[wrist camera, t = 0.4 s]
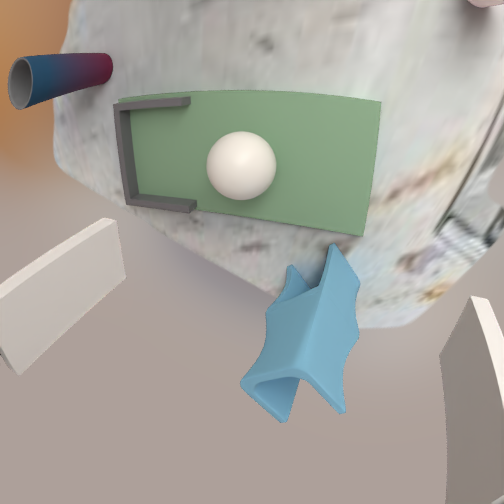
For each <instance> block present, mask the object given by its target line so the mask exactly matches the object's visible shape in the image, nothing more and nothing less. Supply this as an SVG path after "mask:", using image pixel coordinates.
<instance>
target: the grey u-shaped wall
mask: <svg viewBox="0 0 504 504" xmlns="http://www.w3.org/2000/svg"><path fill="white" fill-rule="evenodd" d="M188 104H191V96H184V97H169V98H157V99H146V100H137V101H128V102H122V103H117V104H113V108H114V119H115V129H116V138H117V146H118V154H119V161H120V169H121V175H122V182H123V188H124V194H125V200H126V205H133V206H141V207H148V208H156V209H163V210H170V211H177V212H184V213H190V212H191V211H193V210H194V209H195V208H196V207H197V200H193V199H185V198H177V197H168V196H159V195H150V194H140V193H139V189H138V182H137V174H136V167H135V159H134V150H133V141H132V132H131V121H130V110H131V109H142V108H155V107H170V106H183V105H188Z"/></svg>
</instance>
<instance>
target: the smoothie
mask: <svg viewBox="0 0 504 504" xmlns="http://www.w3.org/2000/svg"><path fill="white" fill-rule="evenodd" d="M468 1H469V2H470V3H471V4H472V5H474V6H476V7H480V8H484V7H489V6H495V5H501V4H504V0H468Z"/></svg>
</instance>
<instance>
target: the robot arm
mask: <svg viewBox="0 0 504 504" xmlns="http://www.w3.org/2000/svg"><path fill="white" fill-rule="evenodd" d="M124 279H126V274H125V268H124V263H123V257H122V251H121V245H120V238H119V232H118V225H117V220H114V219H109V218H102V219H100V220H98V221H97V222H95V223H93V224H92V225H90V226H89V227H87V228H85V229H83V230H82V231H80V232H78V233H77V234H75V235H73V236H72V237H70V238H69V239H67V240H65V241H64V242H62V243H61V244H59V245H57V246H56V247H55V248H53V249H51V250H50V251H48V252H47V253H45V254H43V255H42V256H41V257H39V258H37V259H36V260H35V261H33V262H31V263H30V264H29V265H27V266H26V267H24V268H23V269H21V270H20V271H18V272H17V273H15V274H14V275H13V276H11V277H10V278H8V279H7V280H6V281H4V282H3V283H2V284H0V355H1V356H2V358H3V360H4V361H5V363H6V364H7V366H8V367H9V368H10V369H11V370H12V371H13V372H14V373H15V374H16V375H17V376H20V375H21V374H22V373H23V372H24V371H25V370H26V369H27V368H28V367H29V366H30V365H31V364H32V363H33V362H34V361H35V360H36V359H37V358H38V357H39V356H40V355H41V354H42V353H44V351H46V350H47V349H48V348H49V347H50V346H51V345H52V344H53V343H54V342H55V341H56V340H57V339H58V338H59V337H60V336H62V335H63V334H64V333H65V332H66V331H67V330H68V329H69V328H70V327H71V326H72V325H73V324H75V323H76V322H77V321H78V320H79V319H80V318H81V317H82V316H83V315H85V314H86V313H87V312H88V311H89V310H90V309H91V308H92V307H93V306H95V305H96V304H97V303H98V302H99V301H100V300H101V299H103V298H104V297H105V296H106V295H107V294H108V293H109V292H111V291H112V290H113V289H114V288H115V287H116V286H117V285H119V284H120V283H121V282H122V281H123V280H124ZM439 357H440V364H441V371H442V379H443V390H444V400H445V413H446V431H447V488H446V503H445V504H504V337H503V335H502V332H501V330H500V327H499V325H498V322H497V320H496V317H495V315H494V312H493V310H492V307H491V305H490V303H489V301H488V299H484V298H480V297H475V296H470V297H469V299H468V301H467V304H466V306H465V308H464V310H463V312H462V314H461V316H460V318H459V320H458V322H457V324H456V326H455V328H454V330H453V331H452V333H451V335H450V337H449V339H448V341H447V343H446V345H445V346H444V348H443V350H442V352H441V353H440V355H439Z"/></svg>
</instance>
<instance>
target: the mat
mask: <svg viewBox="0 0 504 504" xmlns="http://www.w3.org/2000/svg"><path fill="white" fill-rule="evenodd" d="M184 96H191V104H188V105H183V106H170V107H155V108H142V109H131V110H130V121H131V132H132V141H133V150H134V159H135V167H136V174H137V182H138V189H139V193H140V194H150V195H159V196H168V197H177V198H185V199H193V200H197V207H196V208H195V210H202V211H209V212H216V213H223V214H230V215H236V216H243V217H250V218H256V219H263V220H269V221H275V222H282V223H288V224H294V225H300V226H306V227H312V228H318V229H324V230H329V231H335V232H341V233H346V234H352V235H357V236H363V234H364V228H365V223H366V217H367V212H368V206H369V199H370V193H371V187H372V180H373V173H374V165H375V157H376V149H377V140H378V131H379V121H380V109H381V102H378V101H372V100H365V99H358V98H351V97H343V96H334V95H325V94H314V93H302V92H286V91H259V90H220V91H193V92H178V93H165V94H154V95H145V96H136V97H129V98H122V99H118V101H119V103H122V102H128V101H137V100H146V99H157V98H169V97H184ZM238 131H245V132H251V133H254V134H256V135H258V136H260V137H262V138H263V139H264V140H265V141H266V142H267V143H268V144H269V145H270V146H271V148H272V150H273V152H274V154H275V158H276V173H275V177H274V179H273V181H272V183H271V185H270V186H269V187H268V189H267V190H266V191H264V192H263V193H262V194H260V195H259V196H257V197H255V198H252V199H248V200H235V199H231V198H228V197H226V196H224V195H222V194H221V193H219V192H218V191H217V190H216V189H215V188H214V187H213V185H212V184H211V182H210V180H209V178H208V175H207V169H206V163H207V157H208V154H209V152H210V150H211V148H212V146H213V145H214V144H215V143H216V142H217V141H218V140H219V139H220V138H222V137H223V136H225V135H227V134H229V133H233V132H238Z"/></svg>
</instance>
